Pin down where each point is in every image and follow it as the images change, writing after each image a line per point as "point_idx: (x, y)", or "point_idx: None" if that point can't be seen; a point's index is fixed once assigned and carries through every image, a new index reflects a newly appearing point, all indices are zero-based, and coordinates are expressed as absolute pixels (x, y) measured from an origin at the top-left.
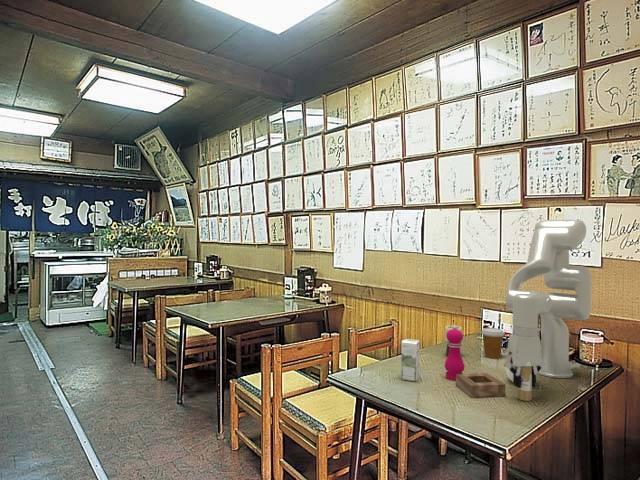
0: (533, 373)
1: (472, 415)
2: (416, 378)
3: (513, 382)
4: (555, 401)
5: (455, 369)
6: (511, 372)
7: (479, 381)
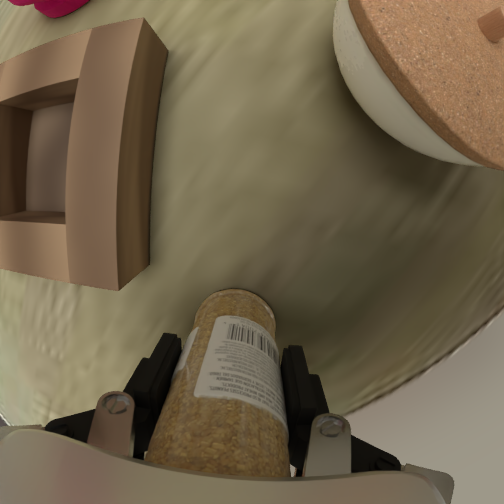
0: (298, 460)
1: (3, 371)
2: None
3: (143, 360)
4: (366, 372)
5: (19, 3)
6: (343, 55)
7: (73, 92)
